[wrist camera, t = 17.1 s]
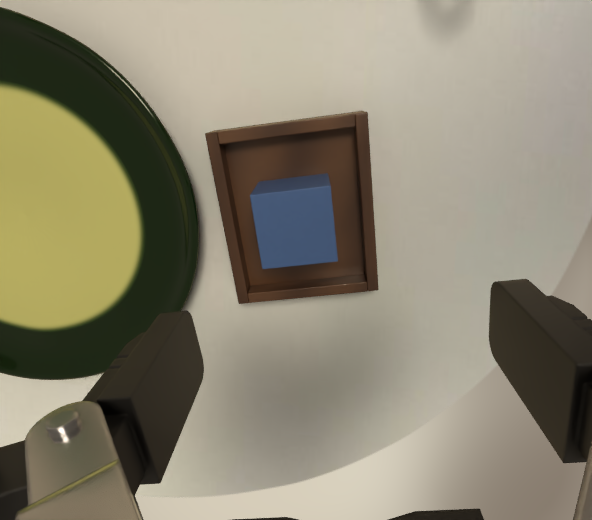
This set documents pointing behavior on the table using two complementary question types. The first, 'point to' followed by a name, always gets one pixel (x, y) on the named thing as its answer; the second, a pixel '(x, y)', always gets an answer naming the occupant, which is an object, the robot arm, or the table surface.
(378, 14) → the table surface
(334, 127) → the tray
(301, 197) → the cube
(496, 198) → the table surface
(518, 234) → the table surface
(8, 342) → the plate
